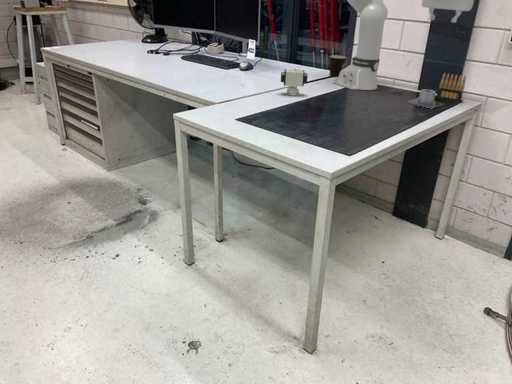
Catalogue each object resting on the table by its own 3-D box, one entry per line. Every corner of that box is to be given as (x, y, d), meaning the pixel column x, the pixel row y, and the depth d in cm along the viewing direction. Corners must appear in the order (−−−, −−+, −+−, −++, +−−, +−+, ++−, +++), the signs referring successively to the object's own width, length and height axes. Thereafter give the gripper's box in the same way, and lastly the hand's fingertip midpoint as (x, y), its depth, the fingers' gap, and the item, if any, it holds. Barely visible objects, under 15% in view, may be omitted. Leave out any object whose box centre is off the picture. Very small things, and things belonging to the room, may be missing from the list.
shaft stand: (406, 103, 185) (408, 91, 182) (419, 98, 192) (422, 87, 190) (431, 109, 177) (434, 97, 175) (444, 105, 185) (447, 93, 182)
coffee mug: (334, 73, 234) (336, 54, 229) (346, 76, 228) (349, 57, 224) (320, 75, 227) (322, 56, 223) (332, 78, 222) (335, 59, 217)
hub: (416, 101, 185) (418, 90, 182) (422, 99, 188) (425, 88, 186) (428, 104, 181) (431, 93, 178) (435, 102, 184) (437, 91, 182)
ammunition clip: (435, 98, 195) (442, 72, 189) (436, 97, 196) (443, 71, 190) (459, 102, 189) (467, 76, 184) (460, 101, 191) (468, 75, 185)
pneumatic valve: (305, 96, 188) (308, 70, 182) (280, 95, 188) (281, 68, 182) (304, 93, 192) (307, 67, 187) (279, 92, 192) (281, 66, 187)
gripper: (423, -18, 171) (415, 18, 178) (472, -15, 158) (462, 24, 165) (430, -17, 175) (423, 18, 181) (479, -15, 162) (469, 23, 168)
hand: (442, 21), depth 173 cm, fingers open, 8 cm apart
